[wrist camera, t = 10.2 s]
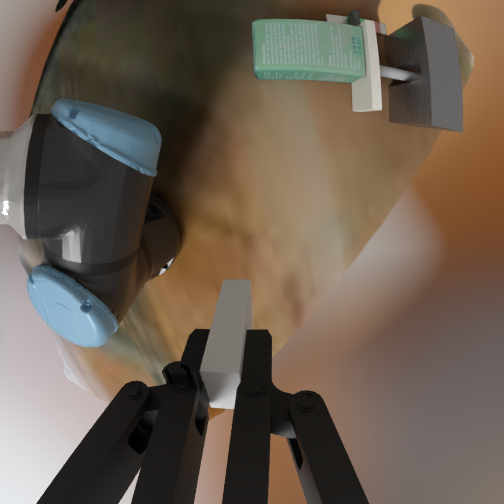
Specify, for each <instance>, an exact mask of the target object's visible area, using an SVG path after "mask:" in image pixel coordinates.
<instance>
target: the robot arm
mask: <svg viewBox="0 0 504 504" xmlns="http://www.w3.org/2000/svg"><path fill="white" fill-rule="evenodd" d="M51 113H52V114H34V115H33V116H32V117H30V118H29V119H28V120H27V121H26V122H25V123H24V124H23V125H22V126H21V127H20V128H18V129H17V130H14V131H0V224H9V225H11V226H13V227H14V229H15V230H16V231H17V232H18V233H19V234H20V236H21V237H22V238H23V239H37V238H39V239H40V238H42V253H43V259H42V262H41V264H40V265H38V266H35V267H34V268H33V270H32V273H31V274H30V275H29V277H28V280H27V289H28V294H29V297H30V299H31V302H32V304H33V305H34V307H35V309H36V310H37V312H38V313H39V314H40V316H41V317H42V318H43V320H44V321H46V323H47V324H48V325H49V326H50V327H51V328H52V329H53V330H54V331H56V332H57V333H58V334H59V335H61V336H62V337H64V338H65V339H67V340H69V341H71V342H73V343H75V344H77V345H80V346H84V347H99V346H102V345H103V344H105V343H106V342H107V341H108V339H109V338H110V337H111V336H112V334H113V333H114V332H116V331H117V329H118V326H119V324H120V322H121V321H122V319H123V317H124V316H125V314H126V313H127V311H128V309H129V308H130V306H131V305H132V303H133V302H134V300H135V299H136V297H137V296H138V294H139V292H140V291H141V289H142V288H143V286H144V285H145V283H146V282H147V281H149V280H151V279H153V278H155V277H157V276H159V275H161V274H162V273H164V272H165V271H166V270H167V269H168V268H169V267H170V266H171V265H172V263H173V262H174V260H175V259H176V257H177V255H178V253H179V250H180V246H181V231H180V227H179V223H178V221H177V218H176V216H175V215H174V213H173V211H172V210H171V209H170V207H169V206H168V205H167V204H166V203H165V202H164V201H163V200H162V199H160V198H159V197H157V196H156V195H154V194H152V193H151V189H152V185H153V181H154V177H155V176H156V175H157V170H156V166H157V161H158V157H159V152H160V148H161V143H162V138H161V134H160V132H159V130H158V129H157V128H156V127H155V126H154V125H153V124H151V123H149V122H147V121H145V120H143V119H140V118H138V117H135V116H132V115H129V114H127V113H124V112H120V111H117V110H114V109H110V108H107V107H103V106H99V105H95V104H91V103H87V102H81V101H74V100H70V99H59V100H58V101H56V102H55V104H54V106H53V107H52V108H51ZM252 321H253V313H252V297H251V280H224V281H223V284H222V288H221V292H220V295H219V299H218V303H217V306H216V310H215V314H214V318H213V321H212V325H211V329H195V330H194V331H193V332H192V333H191V334H190V335H189V337H188V340H187V343H186V344H187V345H186V346H185V349H184V352H183V355H182V358H181V361H176V362H172V363H170V364H168V365H167V366H165V367H164V369H163V370H162V374H163V376H164V378H165V380H166V384H164V385H160V386H153V387H147V385H146V384H144V383H143V382H140V381H131V382H129V383H127V384H125V385H124V386H123V387H122V388H121V390H120V391H119V392H118V394H117V395H116V396H115V397H114V399H113V400H112V401H111V403H110V404H109V405H108V407H107V408H106V409H105V411H104V412H103V413H102V415H101V416H100V417H99V418H98V420H97V421H96V422H95V424H94V425H93V426H92V428H91V429H90V430H89V432H88V433H87V434H86V436H85V437H84V439H83V440H82V441H81V443H80V444H79V445H78V447H77V448H76V449H75V451H74V452H73V453H72V455H71V456H70V457H69V459H68V460H67V462H66V463H65V464H64V466H63V467H62V469H61V470H60V471H59V473H58V474H57V475H56V477H55V478H54V479H53V481H52V482H51V484H50V485H49V487H48V488H47V489H46V491H45V492H44V494H43V495H42V496H41V498H40V499H39V501H38V502H37V504H118V503H119V502H120V500H121V499H122V497H123V495H124V494H125V492H126V490H127V489H128V487H129V486H130V484H131V483H132V481H133V479H134V478H135V476H136V475H137V473H138V471H139V469H140V468H141V470H140V473H139V476H138V480H137V484H136V487H135V491H134V494H133V498H132V502H131V504H194V499H195V493H196V488H197V482H198V476H199V470H200V465H201V459H202V454H203V448H204V442H205V437H206V431H207V426H208V421H209V413H208V405H209V403H210V406H211V407H213V408H227V409H234V414H233V422H232V430H231V438H230V445H229V453H228V461H227V469H226V477H225V484H224V492H223V501H222V504H268V488H269V486H268V485H269V464H270V463H269V462H270V434H271V433H272V434H276V435H280V436H283V437H286V438H287V442H288V445H289V448H290V451H291V454H292V457H293V460H294V463H295V467H296V470H297V473H298V476H299V479H300V482H301V485H302V488H303V491H304V494H305V497H306V500H307V503H308V504H369V502H368V500H367V498H366V495H365V493H364V491H363V489H362V486H361V484H360V482H359V479H358V477H357V475H356V473H355V471H354V468H353V466H352V464H351V461H350V459H349V457H348V454H347V452H346V450H345V448H344V446H343V443H342V441H341V439H340V436H339V434H338V432H337V430H336V427H335V425H334V423H333V421H332V418H331V416H330V414H329V411H328V409H327V407H326V405H325V403H324V400H323V399H322V397H321V396H320V395H319V394H317V393H316V392H313V391H309V390H306V391H300V392H298V393H295V394H290V393H286V392H283V391H281V390H279V389H277V388H276V387H275V386H274V384H273V382H272V374H271V373H272V336H271V335H270V333H269V331H268V330H267V329H266V330H252Z"/></svg>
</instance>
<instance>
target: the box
mask: <svg viewBox="0 0 504 504" xmlns="http://www.w3.org/2000/svg"><path fill="white" fill-rule="evenodd" d="M252 38H253V56H254V74H255V76H256V77H257V78H258V79H259V80H272V79H291V80H317V81H334V82H347V83H352V82H354V81H356V80H358V79H360V78H362V77H364V76H366V74H365V56H364V43H363V32H362V27H360V26H354V25H348V24H342V23H334V22H325V21H314V20H299V19H257V20H255V21H254V22H253V23H252Z"/></svg>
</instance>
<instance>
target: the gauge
mask: <svg viewBox="0 0 504 504" xmlns="http://www.w3.org/2000/svg"><path fill="white" fill-rule="evenodd" d="M325 19H326V22H334V23H342V24H348V25H350V23H349V16H346V17H345V16H338V15H329V14H326V15H325ZM364 20H366V19H361V18H360V24H361V23H362V22H363V21H364ZM370 21H371V20H370ZM374 24H375V30H376V34H377V35H383V36H385V35H387V33H386V27H385V24H383V23H379V22H376V21H374ZM384 42H385V51H386V60H387V67H392V68H396V69H401V70H405V71H409V72H413V73H417V74H421V80H417V81H412V82H408V83H403V84H399V85H395V86H391V87H389V122H392V123H399V124H405V125H411V126H417V127H426V128H435V129H442V130H449V131H456V132H463V101H462V84H461V73H460V64H459V57H458V50H457V44H456V38H455V33H454V29H453V28H451V27H449V26H446V25H444V24H442V23H439V22H437V21H434V20H431V19H429V18H426V17H423V16H420V17H418V18H416V19H415V20H413V21H411V22H410V23H408V24H406V25H404V26H403V27H401V28H400V29H398V30H396V31H395V32H393V33H392V34H390V35H388V36H387V37H385V38H384Z"/></svg>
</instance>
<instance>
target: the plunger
mask: <svg viewBox="0 0 504 504" xmlns="http://www.w3.org/2000/svg"><path fill="white" fill-rule="evenodd" d="M348 16H349V23H350V25H354V26H360V27H362V32H363V43H364V56H365V74H366V76H364V77H362V78H360V79H358V80H356V81H354V82H352V106H353V111H355V112H366V111H377V110H382V100H381V80H380V76H382V77H387V78H393V79H398V80H402V81H407V82H412V81H417V80H421V74H417V73H413V72H409V71H405V70H401V69H396V68H392V67H387V66H381V65H379V55H378V46H377V38H376V30H375V24H374V21H370V20H364V21H363V22H362V23H361V24H360V17H359V11H356V10H352V12H351V13H350V14H349V15H348Z"/></svg>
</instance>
